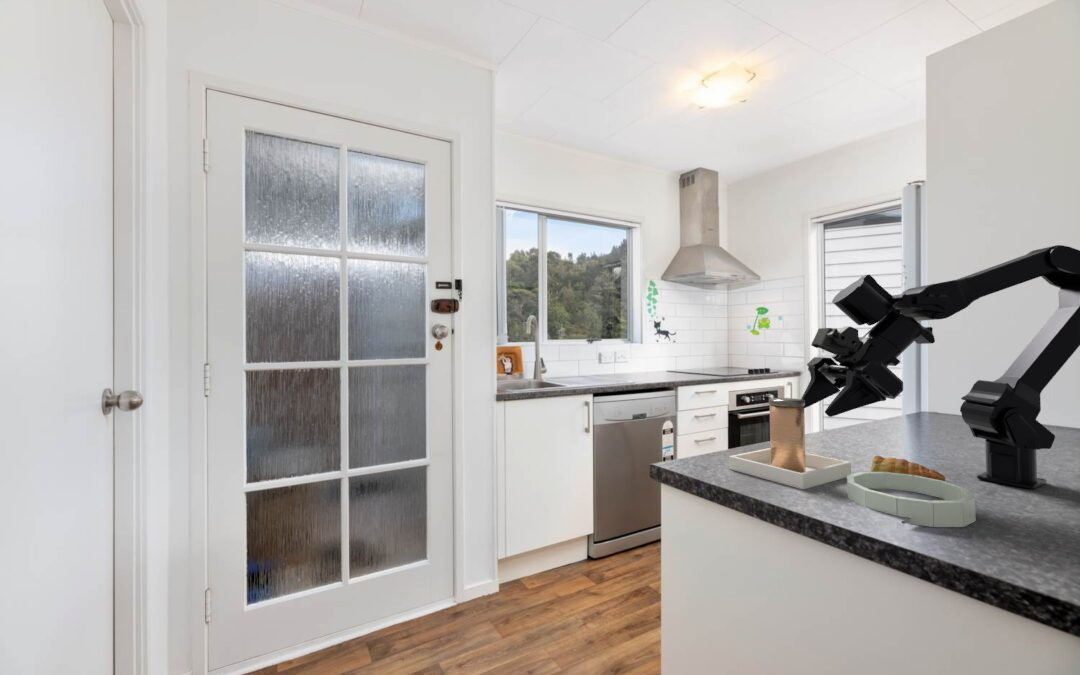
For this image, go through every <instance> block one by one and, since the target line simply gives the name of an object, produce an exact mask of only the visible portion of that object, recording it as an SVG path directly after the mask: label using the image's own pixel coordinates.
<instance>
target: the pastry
mask: <svg viewBox="0 0 1080 675" xmlns="http://www.w3.org/2000/svg"><path fill="white" fill-rule="evenodd" d="M869 472H891V473H900V474H910V475H917V476H921V477H926V478H931V479H936V480H941V481H945V482H946V476H945V475H944V474H942V473H940V472H939V471H937V470H935V469H932V468H928V467H926V466H924V465H922V464H919V463H915V462H912V461H909V460H907V459H905V458H900V459H898V458H896V457H895V458H894V457H883V456H881V455H875V456H873V459H872V462H871V466H870V471H869Z"/></svg>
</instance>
